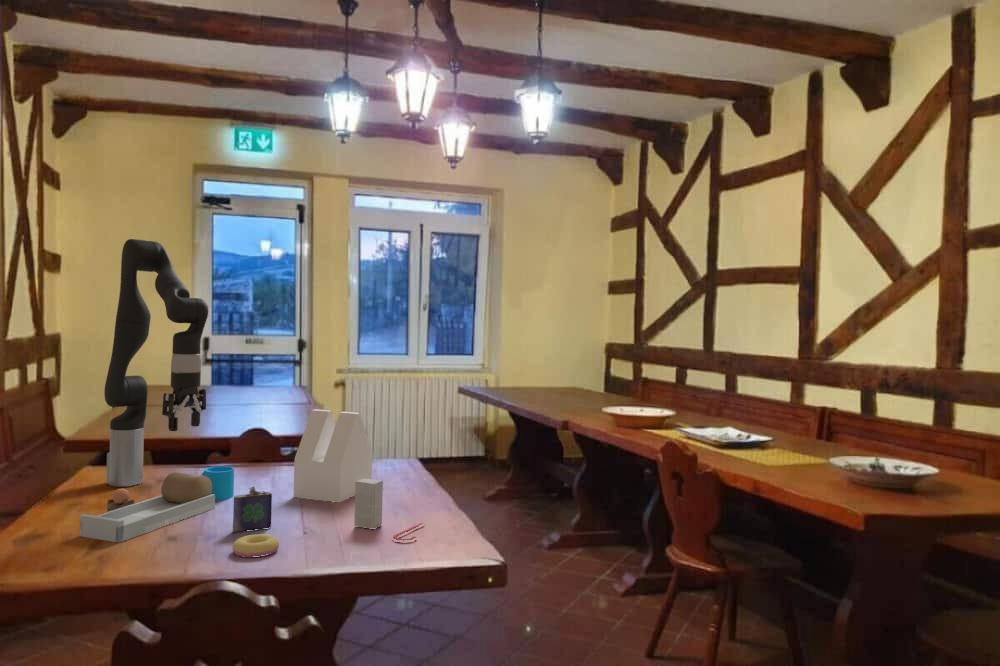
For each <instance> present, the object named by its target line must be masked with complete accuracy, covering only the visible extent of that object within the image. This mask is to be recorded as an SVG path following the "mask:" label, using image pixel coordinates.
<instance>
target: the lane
mask: <svg viewBox="0 0 1000 666" xmlns="http://www.w3.org/2000/svg"><path fill="white" fill-rule="evenodd" d="M201 475H202V474H200V475H199V474H192V473H185V472H178V471H177V472H176V471H174V472H171V473H169V474H168V475H166V477H165V478H164V480H163V482H162V484H161V491H160V492H161V495H158V496H154V497H151V498H148V499H145V500H142V501H138V502H134V504H132V505H128V506H125V507H122V508H119V509H115V510H112V511H109V512H107V511H106V512H105V513H104V512H103V513H102V514H101V513H100V514H98V515H92V514H88V513H87V514H86V513H83V514H80V515H79V537H82V538H88V539H94V540H100V541H106V542H111V543H118V544H119V543H123V542H125V540H126V541H128V540H131V539H133V538H136V537H139V536H141V535H145V534H147V533H150V532H153V531H156V530H159V529H160V528H161V527H162V528H164V527H166V525H167V526H170V525H172V523H173V524H175V523H178V522H181V521H184V520H186V519H188V517H189V518H191V516H192V517H195V516H197V515H200V514H202V513H205V512H209V511H211V510H214V509H215V508H216V501H215V494H211V492H212V483H211V480H210V479H209V478H208V477H207V476H201ZM194 515H195V516H194ZM183 519H184V520H183ZM180 520H181V521H180ZM169 524H170V525H169ZM163 526H164V527H163ZM158 528H159V529H158ZM162 528H161V529H162ZM155 529H156V530H155Z"/></svg>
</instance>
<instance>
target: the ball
mask: <svg viewBox="0 0 1000 666" xmlns="http://www.w3.org/2000/svg"><path fill="white" fill-rule="evenodd" d="M129 498H130V493H129V490H127V489H126V488H123V487H122V488H117V489H116V490H114V492H113V493H112V498H111V499H113V501H114V502H115V503H118V504H123V502H125V501H128V500H130V499H129Z"/></svg>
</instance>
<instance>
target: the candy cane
mask: <svg viewBox="0 0 1000 666" xmlns="http://www.w3.org/2000/svg"><path fill="white" fill-rule="evenodd" d="M421 524H424V522H421V523H418V524H417V525H414V526H412V527H410V528H408V529H405V530H403V531H401V532H399V533H396V534H395V535H393V536H392V538H394V539H396V540H403V541H404V540H412V539H414V538H417V537H416V536H411V538H397V537H398V536H399V535H401V534H403V533H405V532H408V531H410V530H412V529H414V528H416V527H418V526H419V525H421Z"/></svg>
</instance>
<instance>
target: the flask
mask: <svg viewBox="0 0 1000 666" xmlns="http://www.w3.org/2000/svg"><path fill="white" fill-rule="evenodd" d="M249 489H250V490H249V492H248V493H246V494H245V493H244V494H238V495H234V496H233V514H232V515H233V517H232V519H233V520H232V532H233V531H234V532H236V533H238V532H242V533H244V532H243V531H247V530H255V529H263V528H269V527H270V528H272V504H273V503H272V502H273V499H272V497H273V494H272V493H271V492H270V491H264V490H263V491H258V490H256V487H255V486H252V487H249ZM270 528H269V529H270ZM263 530H264V529H263ZM255 531H256V530H255ZM234 532H233V533H234Z"/></svg>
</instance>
